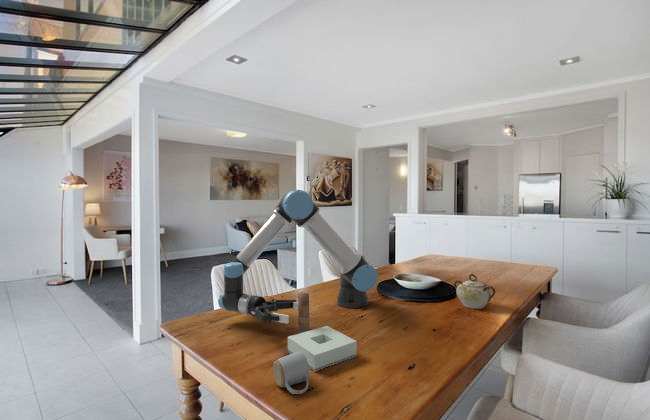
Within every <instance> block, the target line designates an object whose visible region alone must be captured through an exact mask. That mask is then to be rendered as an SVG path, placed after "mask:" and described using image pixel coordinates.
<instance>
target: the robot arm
mask: <svg viewBox="0 0 650 420" xmlns="http://www.w3.org/2000/svg"><path fill="white" fill-rule="evenodd" d="M292 222H294V223H295V225H296V226H297V227H298V228H304V229H305V230H306V231H307V232H308V233H309V235H311V236H312V238H313V239H314V240H315V241H316V243H317V244H318V245H320V246H321V248H322V249H323V251H325V252H326V253H327V254H328V255H329V256H330V257H331V258H332V259H333V261H334V262H335V263H336V264H337V265H338V266H339V269H340V270H339V272H340V273H339V274H340V278H339V281H340V283H339V286H340V288H339V290H338V291H339V292H338V294H337V297H336V304H337V305H338V306H339V307H342V308H347V309H359V308H364V307H367V306H368V305H369V297H368V294H367V292H369V291H371V290H372V289H373V288H375V286H376V285H377V283H378V281H379V280H378V279H379V275H378V271H377V269H376V268H375V267H374V266H372V264H370V263H369V262H368V261H367V260H366V259H365V256H364V255H361V254H360V253H355V251H353V249H351V248H350V246H349V245H348V244H347V243H346V242H345V241H344V240H343V239H342V238H341V236H339V234H338V233H337V232H336V231H335V230H334V228H333V227H332V226H331V225H330V224H329V223H328V222H327V220H325V218H324V217H323V216H322V215H321V214H320V207H318V205H316V203H315V202H314V200H313V198H312V196H311V195H310V194H309V193H308V192H307V191H304V190H302V189H293V190H291V191H288V192H286V193H285V194H284V195H283V196H282V198H281V199H280V201H279V202H278V204H277V205H276V206H275V208H274V209H273V213H272V215H270V217H269V218H268V219H267V220H266V222H265V223H264V224H263V225H262V227H261V228H260V229H259V230H258V231H257V232H256V233H255V234H254V236H253V237H252V238H251V239H250V240H249V241H248V242H247V244H246V245H245V246H244V247H243V248H242V250H241V251H240V252H239V253H238V254H237V255H236V256H235V258H233V260H232V261H231V262H227V263H225V264H224V265H223V273H222V274H223V284H224V286H223V287H224V288H223V292H221V293H220V294H219V298H218V300H217V301H218V303H217V304H218V307H219V308H220V309H222V310H225V311H227V312H233V313H237V314H238V313H239V314H243V315H246V316H252V317H254V318H256V319H258V320H259V321H261V322H262V323H267V324H272V322H275V323H276V322H277V323H281V324H287V325H288V324H289V323H290V321H289V319H290V315H288V314H282V313H277V312H278V310H287V309H293V310H295V311H298V301H297V299H296V298H295V299H294V298H293V299H275V298H274V299H273V300H272V302H271V301H267V302H266V300H265V299H264V298H263V297H264V296H260V295H254V294H250V293H249V294H247V293H244V274H245V273H246V272H247V271H248V270H249V268H250V267H251V266H252V265H253V264H254V263H255V261H256V260H257V259H258V257H260V256H261V255H262V253H263V252H264V251H265V250H266V248H268V246H269V245H270V244H271V243H272V242H273V240H274V239H275V238H276V237H278V235H279V234H280V232H281V231H282V230H284V228H285V226H286V225H290V224H291V223H292ZM271 312H272V313H271Z"/></svg>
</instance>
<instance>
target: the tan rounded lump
mask: <svg viewBox="0 0 650 420" xmlns="http://www.w3.org/2000/svg"><path fill="white" fill-rule="evenodd" d="M262 297H263V298H264V299H265V300H266V302H267V301H271V302H272V300H273V299H275V298H274V297H273V296H269V295H265V296H262Z"/></svg>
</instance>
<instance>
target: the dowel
mask: <svg viewBox="0 0 650 420" xmlns="http://www.w3.org/2000/svg"><path fill="white" fill-rule="evenodd" d="M297 302H298V310H297V323H298V324H297V332H298V333H297V334H300V333H303V332H307V331H310V293H308V292H300V293H298V294H297Z"/></svg>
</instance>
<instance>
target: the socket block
mask: <svg viewBox="0 0 650 420" xmlns="http://www.w3.org/2000/svg"><path fill="white" fill-rule="evenodd" d="M357 345H358V343H357V340H355V339H353V338H352V337H349V336H348V335H345V334H343V333H342V332H340V331H338V330H336V329H334V328H332V327H330V326H329V325H325V326H322V327H318V328H314V329H311V330H310V329H309V331H307V332H303V333H300V334H298V333H297V334H293V335H289V336H287V353H289V355H290V354H292V353H295V352H297V351H301V352H303V354H304V355H305V357H306V359H307V361H308V365H309V367H310V368H311V369H312V370H313V371H312V370H311V369H310V368H309V369H310V370H311V371H312V372H314V371H317V370H320V369H322V370H324V369H323V368H325V367H328V366H330V367H332V366H331V365H333V366H335V365H334V364H336V365H337V363H338V364H340V363H339V362H341V363H343V362H342V361H344V362H346V361H349V360H351V358H352V359H354V358H357V351H358V349H357V347H358V346H357ZM353 357H354V358H353ZM348 359H349V360H348ZM345 360H346V361H345ZM328 368H329V367H328ZM325 369H326V368H325ZM320 371H321V370H320ZM317 372H318V371H317Z"/></svg>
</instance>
